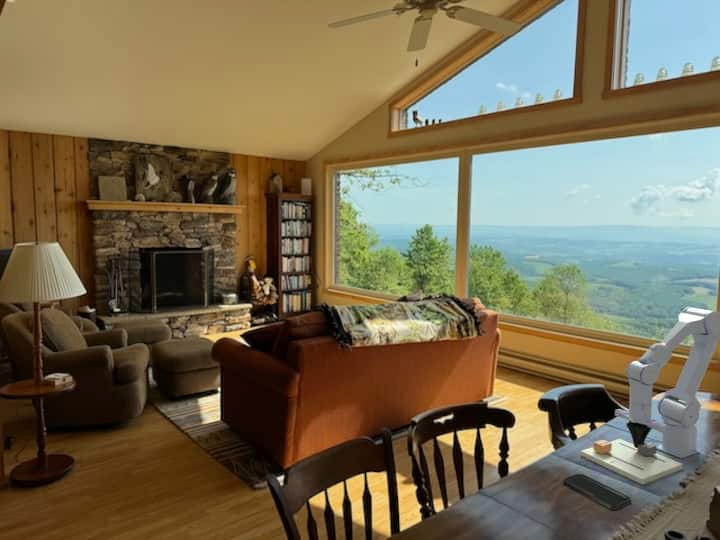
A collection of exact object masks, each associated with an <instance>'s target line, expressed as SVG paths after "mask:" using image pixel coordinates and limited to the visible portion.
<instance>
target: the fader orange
mask: <svg viewBox="0 0 720 540" xmlns="http://www.w3.org/2000/svg"><path fill="white" fill-rule="evenodd" d="M610 442H611V441H608V440H605V439H600V440H596V441H594V442H593V447H594V448H593V450H594V451H597V452H599V453H601V454H604V453H607V452H610V451H611V449H612V443H610Z"/></svg>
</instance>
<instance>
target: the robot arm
mask: <svg viewBox="0 0 720 540" xmlns="http://www.w3.org/2000/svg"><path fill="white" fill-rule="evenodd" d="M690 335H691V336H692V337H693V340H694V342H693V345H692V348H691V349H690V352H689V354H688V356H687V359H686V361H685V363H684V365H683V368H682V370H681V373H680V375H679V377H678V380H677V382H676V385H675V386H674V388H671V389H668V390H666V391H665V392H664V394H663V396H662V397H661V398H660V399H659V400H658V402H657V404H656V405H657V406H656V408H657V413H658V414H659V415H660V419H661V420H663V421H662V422H660V421H658V420H657V419H654V418H653V417H652V405H653V404H652V401H653V400H652V399H653V384H655V383H656V382H657V381H658V379H659V375H660V373H661V369H662V368H663V367H664V366H665V365H666V364H667V363H668V362H669V361H670V360H671V358H673V352H672V351H673V350H674V349H676V348H677V347H678V346H679V345H680V344H681V343H682V342H684V341H685V340H686V339H687V338H688V337H689V336H690ZM719 340H720V312H719V311H717V310H709V309H702V308H696V307H694V306H687V307H685V308H684V309H683V310H682V311H681V313H679V314H678V315H677V322H676V323H675V325H674V326H673V328H672V329H671V330H669V333H668V334H667V335H666V336H665V337H664V339H662V341H660V342H659V343H654V344H651V345H650V346H649V348H648V350H647V351H645V352H644V353H643V355H642V356H641V357H640V358H639V359H638V360H634V361H632V362H630V363H629V364H628V365H627V368H626V369H625V375H626V377H627V378H628V384H629V399H628V400H629V402H628V403H629V404H628V406H629V408H628V410H625V409H621V408H618V409H614V416H615V417H617V418H619V417H620V418H622V419H625V420H626V421H628V422H626V427H627V429H628V430H629V433H630V435H631V438H632V442H633V443H632V444H634V447H635V448H638V444H641V443H644V442H646V439H647V436H648V435H649V433H650V432H651V431H652V429H653V430H656V431H658V433H661V434H662V437H661V438H662V440H661V444H659V445H656V446H657V447H656V450H659V451H661V452H664V453H667V454H669V455H672V456H673V457H677V458H679V459H685V458H687V457H689V456H692V455H695V454H697V453H700V450H699V449H698V448H697V442H698V441H697V439H698V429H697V427H696V423H697V422H698V420H699V418H700V410H701V407H702V405H701V403H700V402H699V400H698V398H697V396H696V395H697V393H698V390H699V388H700V386H701V383H702V381H703V378H704V376H705V374H706V372H707V370H708V367H709V365H710V362H711V360H712V359H713V358H712V357H713V356H714V353H715V351H716V350H717V346H718V344H719Z"/></svg>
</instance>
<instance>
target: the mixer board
mask: <svg viewBox="0 0 720 540" xmlns="http://www.w3.org/2000/svg"><path fill="white" fill-rule="evenodd" d="M609 442H610V443H612V449H611V451H610V452H607V453H604V454H601V453H599V452H597V451H594V450H593V448H594V446H592V447H589V448H585V449H583V450H580V457H582V456H583V458H584V457H585V459H587V460H588V461H589V460H590V461H591V460H592V461H591V462H593V461H594V463H595V462H596V464H597V465H600V466H601V465H602V467H603V468H606V469H608V470H610V471H612V472H615V473H616V474H618V475H620V476H624V477H625V478H628V479H629V480H632V481H634V482H635V483H639V484H640V485H645V484H648V483H650V482H652V481H656V480H658V479H660V478H664V477H666V476H669V475H671V474H673V473H675V472H676V473H677V472H678V471H681V470H683V463H680V461H679V462H678V461H676V460H673V459H670V458H668V457H666V456H664V455H661V454H658V453H656V454H654V455H651V456H648V457H647V456H645V455H643V454H640V453H638V448H635V447H634V443H631V442H629V441H626V440H624V439H621V438H617V439H615V440H611V441H609Z"/></svg>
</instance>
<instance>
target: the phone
mask: <svg viewBox="0 0 720 540" xmlns="http://www.w3.org/2000/svg"><path fill="white" fill-rule="evenodd" d="M562 484H564V485H565V486H567V487H568V488H571V489H572V490H574V491H576V492H578V493H580V494H582V495H583V496H585V497H587V498H589V499H591V500H593V501H595V502H596V503H598V504H599V505H602V506H604V507H606V508H608V509H610V510H618V509H620V508H622V507H624V506H626V505H629V504H631V503H632V499H631V497H630V496H627V495H626V494H624V493H622V492H619V491H618V490H617V489H614V488H612V487H610V486H608V485H606V484H604V483H601V482H599V481H598V480H595V479H594V478H591V477H589V476H587V475H586V474H583V473H576V474H574V475H573V474H572V475H571V476H568V477H565V478H563V479H562Z"/></svg>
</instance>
